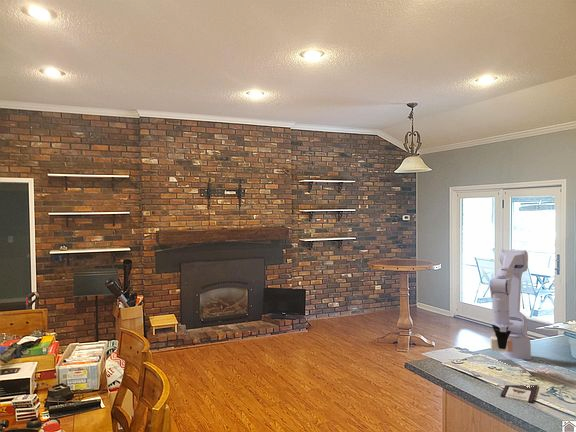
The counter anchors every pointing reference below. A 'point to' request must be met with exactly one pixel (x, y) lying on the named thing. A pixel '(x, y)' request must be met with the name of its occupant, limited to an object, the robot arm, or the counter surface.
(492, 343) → the card box
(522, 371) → the mat
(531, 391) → the chocolate bar
